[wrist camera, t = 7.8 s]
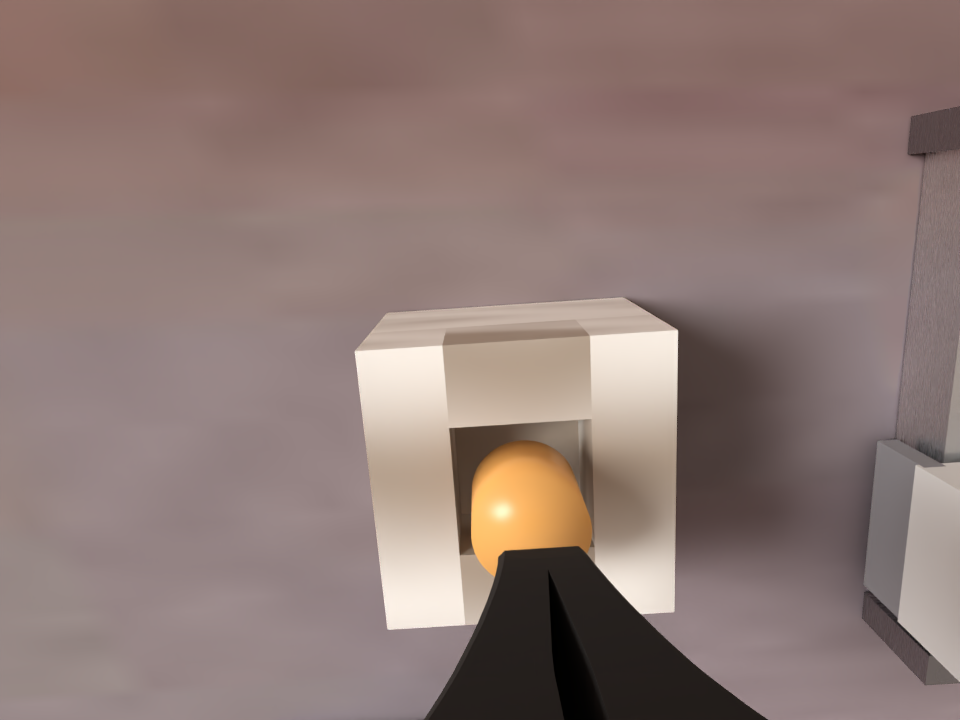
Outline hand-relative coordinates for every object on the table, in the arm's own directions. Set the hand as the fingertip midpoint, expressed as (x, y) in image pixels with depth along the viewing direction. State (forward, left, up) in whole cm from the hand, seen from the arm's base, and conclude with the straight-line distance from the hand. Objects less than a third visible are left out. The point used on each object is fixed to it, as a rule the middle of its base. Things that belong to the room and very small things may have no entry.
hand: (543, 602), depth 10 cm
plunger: (0, 0, -4) cm, 4 cm away
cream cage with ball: (0, 0, -9) cm, 9 cm away
